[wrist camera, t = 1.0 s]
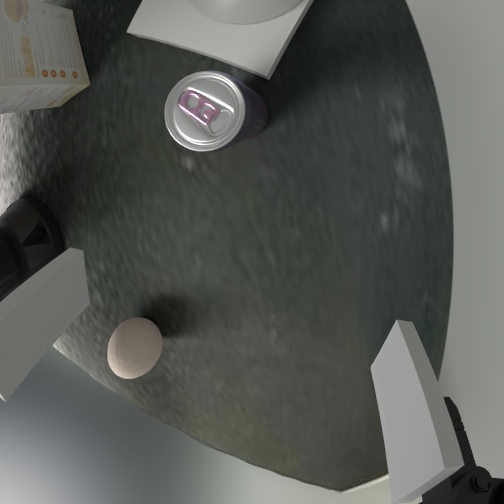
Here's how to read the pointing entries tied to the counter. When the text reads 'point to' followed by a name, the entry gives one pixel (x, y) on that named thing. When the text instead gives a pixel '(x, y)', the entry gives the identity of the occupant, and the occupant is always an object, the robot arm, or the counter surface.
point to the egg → (134, 347)
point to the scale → (224, 28)
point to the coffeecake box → (38, 56)
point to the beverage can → (213, 112)
